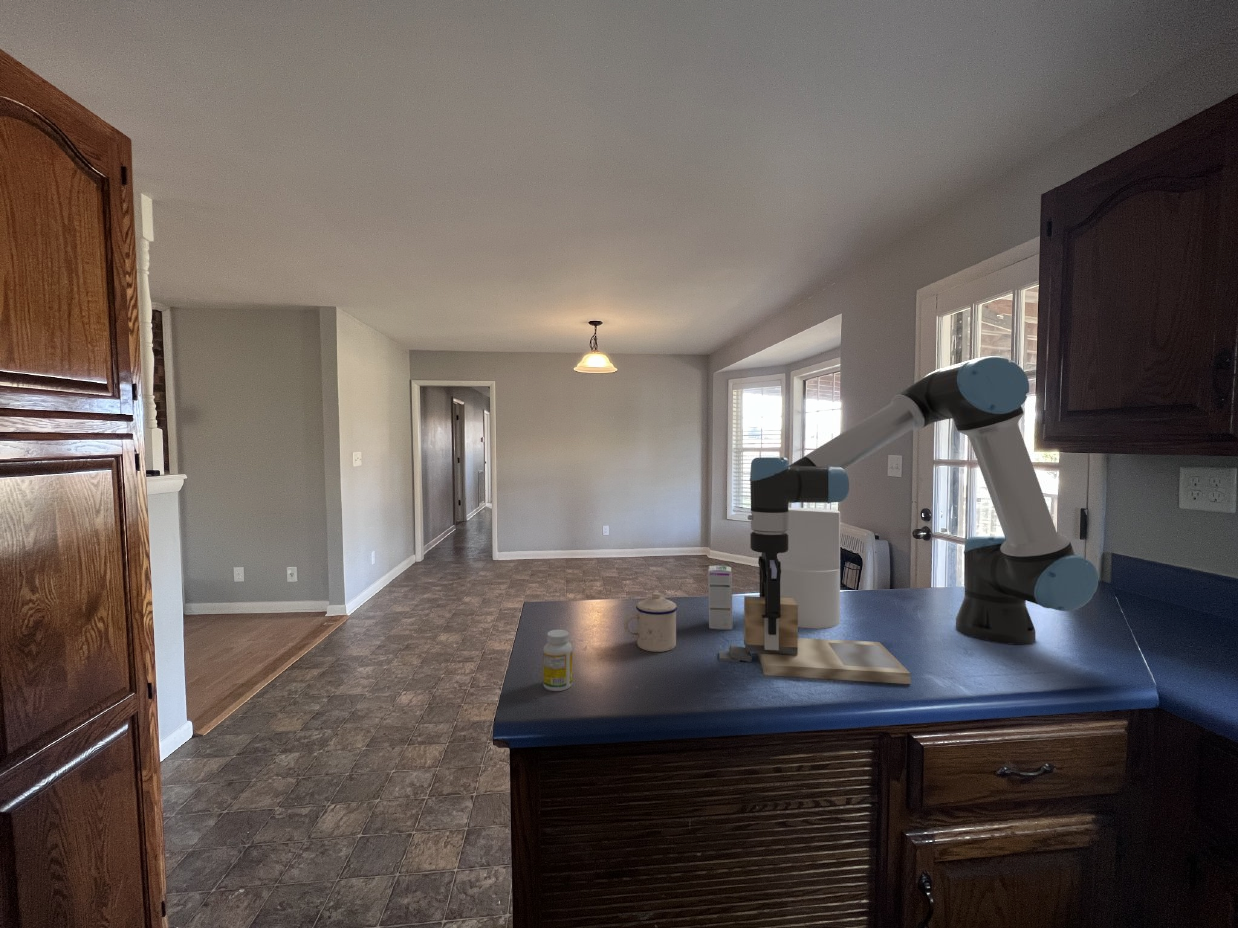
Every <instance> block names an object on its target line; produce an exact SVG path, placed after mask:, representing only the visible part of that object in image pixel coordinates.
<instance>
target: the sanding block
mask: <svg viewBox="0 0 1238 928" xmlns="http://www.w3.org/2000/svg"><path fill="white" fill-rule="evenodd" d="M743 597H744V599H743V600H744V601H743V627H744V628H743V644H744V648H746V652H750V653H757V652H759V653H775V654H792V655H798V638H799V635H798V634H799V632H798V630H799V629H798V628H799V627H798V605H797V603H796V602H795V600H794V599H793V598H780V614H781V617H780V618H779V650H765V649H764V618H762V615H765V597H760V596H749V595H748V596H747V595H744V596H743Z"/></svg>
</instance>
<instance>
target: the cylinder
mask: <svg viewBox="0 0 1238 928" xmlns="http://www.w3.org/2000/svg"><path fill="white" fill-rule="evenodd" d="M788 511H789V530H788V531H786V533H787V535H788V551H787V552H785V553H778V554H777V559H778V561H780V563H781V577H780V598H793V599H794V600H795V602H796V603H797V605H798V628H803V629H813V630H814V629H828V628H829V629H830V628H834V627H836V626H838V625H839V624H840V622H841V511H839V510H835V509H827V508H818V507H817V508H813V507H788Z"/></svg>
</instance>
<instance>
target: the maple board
mask: <svg viewBox="0 0 1238 928" xmlns="http://www.w3.org/2000/svg"><path fill="white" fill-rule="evenodd" d="M756 653H757V656H758V659H759V662H760V666H761V668H762V671H763V675H764V676H770V677H771V676H773V677H775V676H776V677H789V678H807V679H822V680H835V681H836V680H837V681H854V682H871V683H886V684H888V683H889V684H900V685H901V684H902V685H903V684H904V685H911V672H910V671H909V670H908V669H907V668H906V667H905V666H904V665H903V664H902V663H901V662H900V661H899V660H898V659H897V658H896V657H895V656H894V655H893V654H892V653H891V652H889V650H888V649H886V647H885V646H884V645H882V643H880V642H879V641H865V640H864V641H863V640H847V639H846V640H844V639H825V638H807V637H806V638H803V637H798V655H792V654H775V653H759V652H756Z"/></svg>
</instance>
